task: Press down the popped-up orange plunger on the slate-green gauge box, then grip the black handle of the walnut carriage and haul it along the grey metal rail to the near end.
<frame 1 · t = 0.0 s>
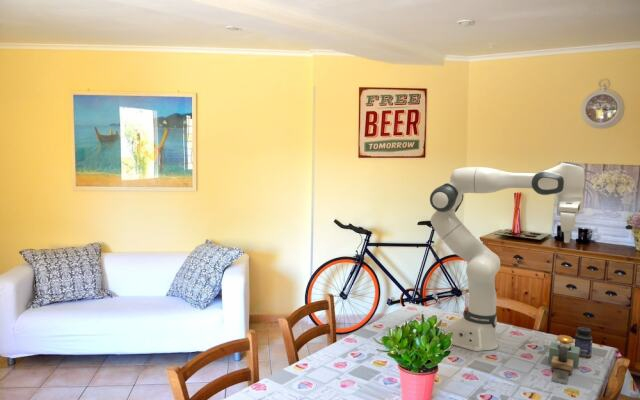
hand: (567, 240, 185), 48 cm above the table, fingers open, 8 cm apart
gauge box: (563, 362, 188), on the table
pill bottle: (582, 355, 195), on the table
plunger: (564, 345, 187), point 7 cm above the table, slide at 0.0 cm
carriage: (562, 358, 181), point 5 cm above the table, slide at 0.0 cm
rail: (560, 374, 178), on the table
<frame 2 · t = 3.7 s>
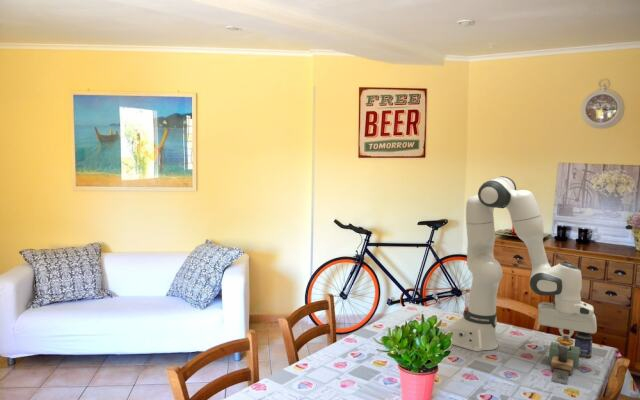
hand: (565, 339, 187), 9 cm above the table, fingers closed
plunger: (564, 347, 188), point 6 cm above the table, slide at 0.7 cm, touching gripper
everything else where it was.
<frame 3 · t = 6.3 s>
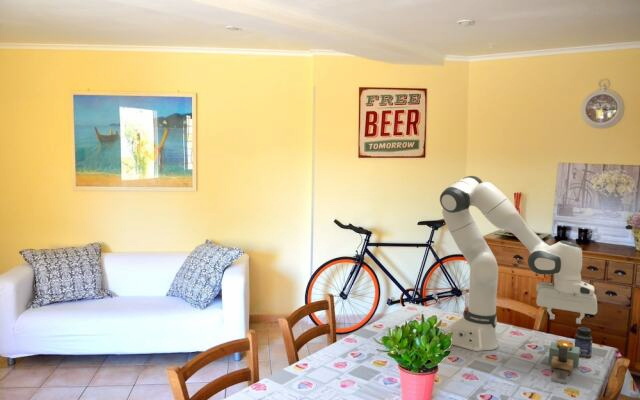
hand: (565, 321, 179), 19 cm above the table, fingers open, 7 cm apart
plunger: (564, 350, 188), point 5 cm above the table, slide at 2.1 cm
everything else where it was.
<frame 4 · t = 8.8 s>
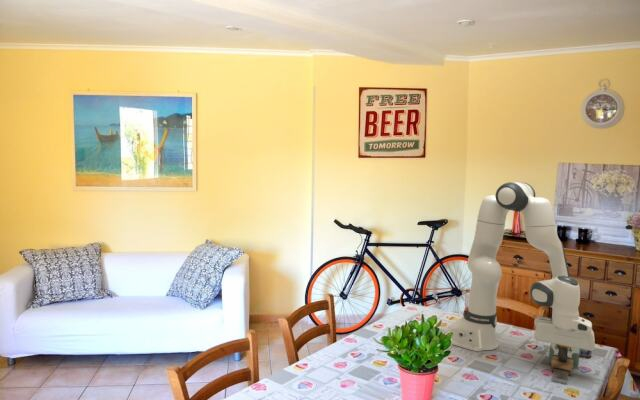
hand: (562, 356, 181), 6 cm above the table, fingers closed on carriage, 3 cm apart
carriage: (562, 358, 181), point 5 cm above the table, slide at 0.0 cm, touching gripper
everything else where it was.
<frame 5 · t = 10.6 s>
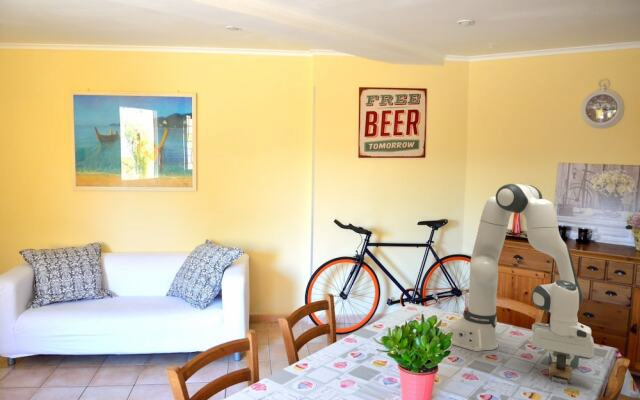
hand: (561, 363, 175), 6 cm above the table, fingers closed on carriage, 3 cm apart
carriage: (560, 366, 175), point 5 cm above the table, slide at 7.3 cm, touching gripper
everything else where it was.
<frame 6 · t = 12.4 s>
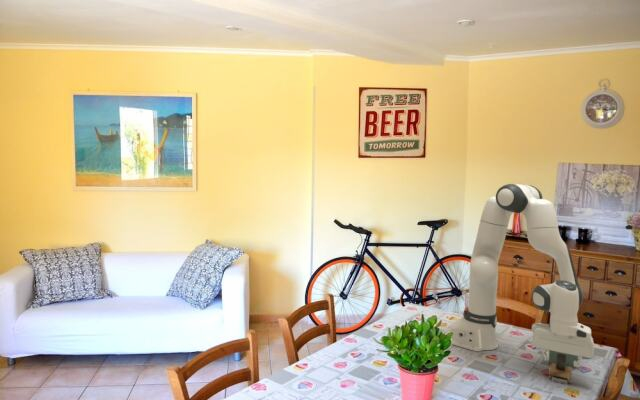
hand: (561, 363, 174), 6 cm above the table, fingers open, 8 cm apart
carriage: (560, 366, 175), point 5 cm above the table, slide at 7.5 cm
everything else where it was.
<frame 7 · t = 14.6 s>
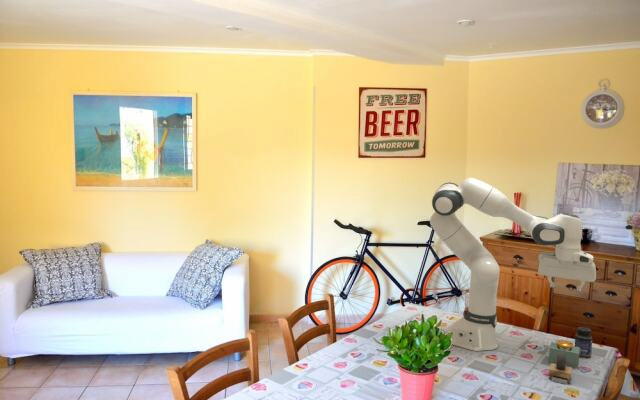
hand: (565, 289, 189), 28 cm above the table, fingers open, 8 cm apart
nothing on the table moved.
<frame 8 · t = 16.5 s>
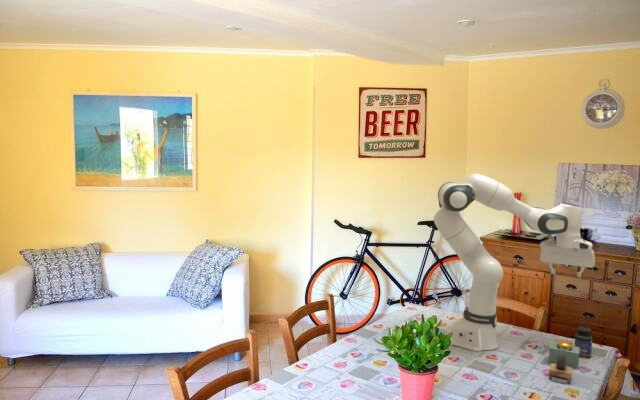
hand: (566, 275, 199), 31 cm above the table, fingers open, 8 cm apart
nothing on the table moved.
at the end: plunger slide at 2.1 cm; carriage slide at 7.5 cm; the gripper is holding nothing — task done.
